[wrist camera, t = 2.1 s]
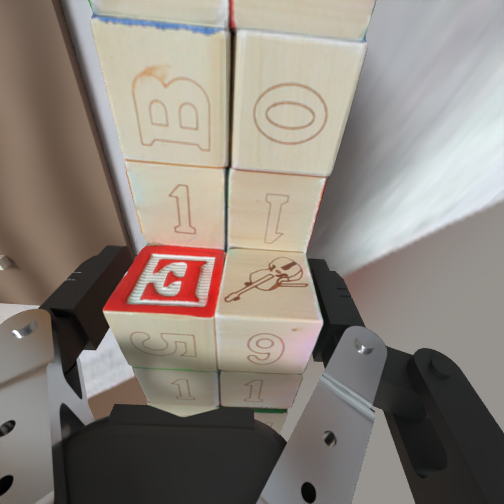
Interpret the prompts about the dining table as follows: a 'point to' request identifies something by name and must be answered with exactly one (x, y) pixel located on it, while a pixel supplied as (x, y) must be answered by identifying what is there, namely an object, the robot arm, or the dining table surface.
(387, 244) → the dining table surface
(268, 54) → the stack of blocks
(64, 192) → the board
